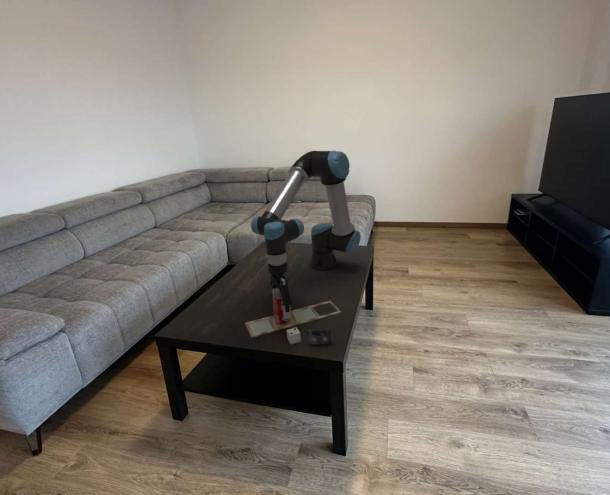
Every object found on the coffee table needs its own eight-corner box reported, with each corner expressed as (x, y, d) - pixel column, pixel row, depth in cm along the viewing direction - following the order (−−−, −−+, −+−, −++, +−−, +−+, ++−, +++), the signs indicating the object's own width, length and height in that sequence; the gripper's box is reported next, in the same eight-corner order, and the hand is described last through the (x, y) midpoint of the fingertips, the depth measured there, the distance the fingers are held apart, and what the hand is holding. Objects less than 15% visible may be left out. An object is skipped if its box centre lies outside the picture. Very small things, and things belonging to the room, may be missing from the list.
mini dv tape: (330, 341, 131) (330, 328, 128) (330, 344, 129) (330, 330, 127) (308, 342, 131) (307, 328, 129) (308, 344, 130) (307, 331, 128)
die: (297, 336, 135) (296, 326, 134) (300, 341, 132) (300, 332, 130) (287, 338, 134) (286, 329, 132) (290, 344, 131) (289, 334, 129)
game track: (330, 301, 158) (330, 300, 157) (341, 312, 148) (341, 311, 148) (245, 323, 145) (245, 322, 145) (251, 337, 136) (251, 336, 136)
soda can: (294, 317, 147) (292, 291, 143) (287, 326, 141) (285, 300, 136) (278, 314, 149) (276, 289, 145) (271, 323, 143) (269, 298, 139)
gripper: (259, 253, 145) (264, 298, 153) (277, 277, 123) (282, 328, 131) (277, 249, 147) (281, 294, 155) (297, 272, 126) (301, 322, 134)
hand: (282, 309), depth 143 cm, fingers open, 13 cm apart
